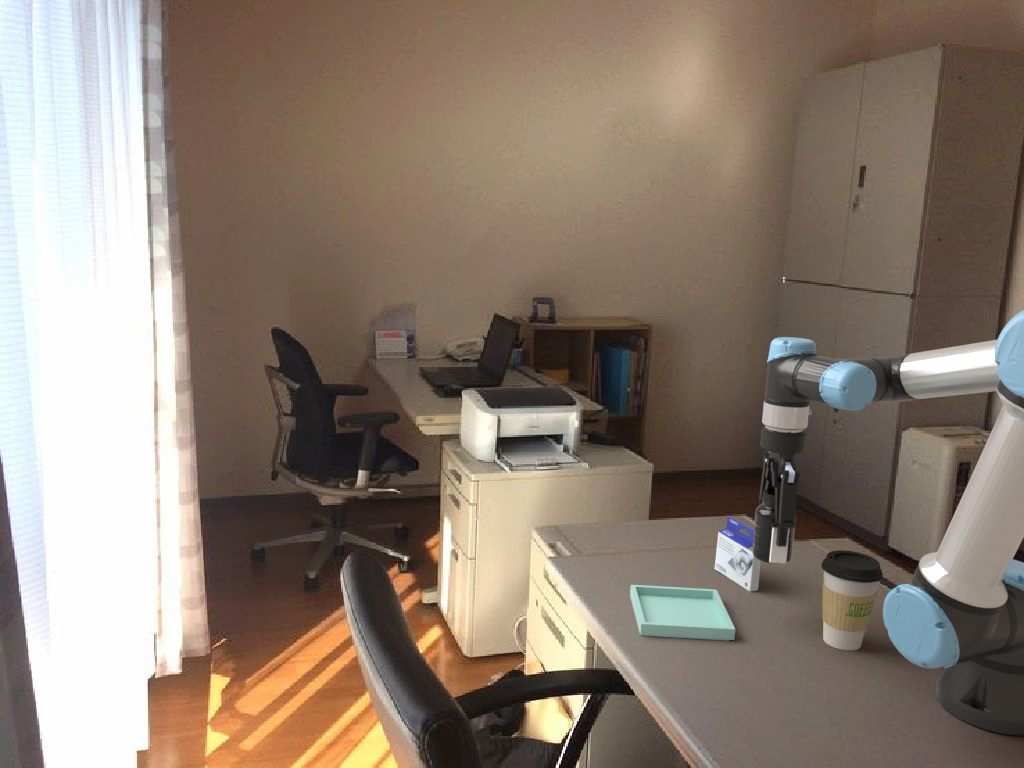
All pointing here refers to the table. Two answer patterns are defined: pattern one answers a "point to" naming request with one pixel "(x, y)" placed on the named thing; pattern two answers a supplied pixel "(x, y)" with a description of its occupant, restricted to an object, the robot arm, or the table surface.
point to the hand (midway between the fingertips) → (771, 554)
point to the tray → (681, 613)
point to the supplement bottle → (767, 529)
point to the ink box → (737, 555)
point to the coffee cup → (848, 597)
